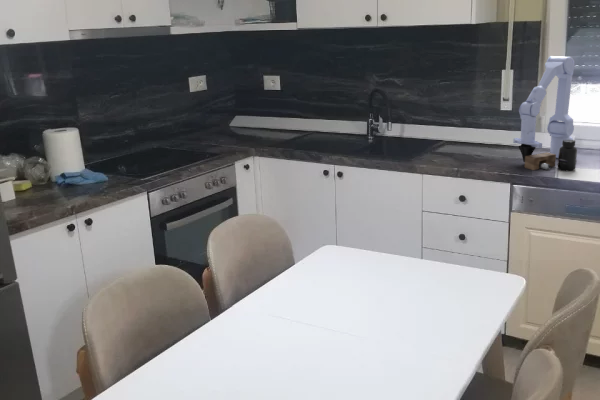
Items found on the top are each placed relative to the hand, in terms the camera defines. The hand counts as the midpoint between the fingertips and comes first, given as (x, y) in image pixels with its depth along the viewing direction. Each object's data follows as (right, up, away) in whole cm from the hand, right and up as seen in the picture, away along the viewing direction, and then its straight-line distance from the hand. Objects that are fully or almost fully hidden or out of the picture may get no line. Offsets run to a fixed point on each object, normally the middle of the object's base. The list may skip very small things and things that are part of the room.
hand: (526, 161), depth 267 cm
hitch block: (+3, -3, -6) cm, 7 cm away
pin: (+4, -3, -7) cm, 8 cm away
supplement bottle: (+13, -4, -11) cm, 17 cm away
